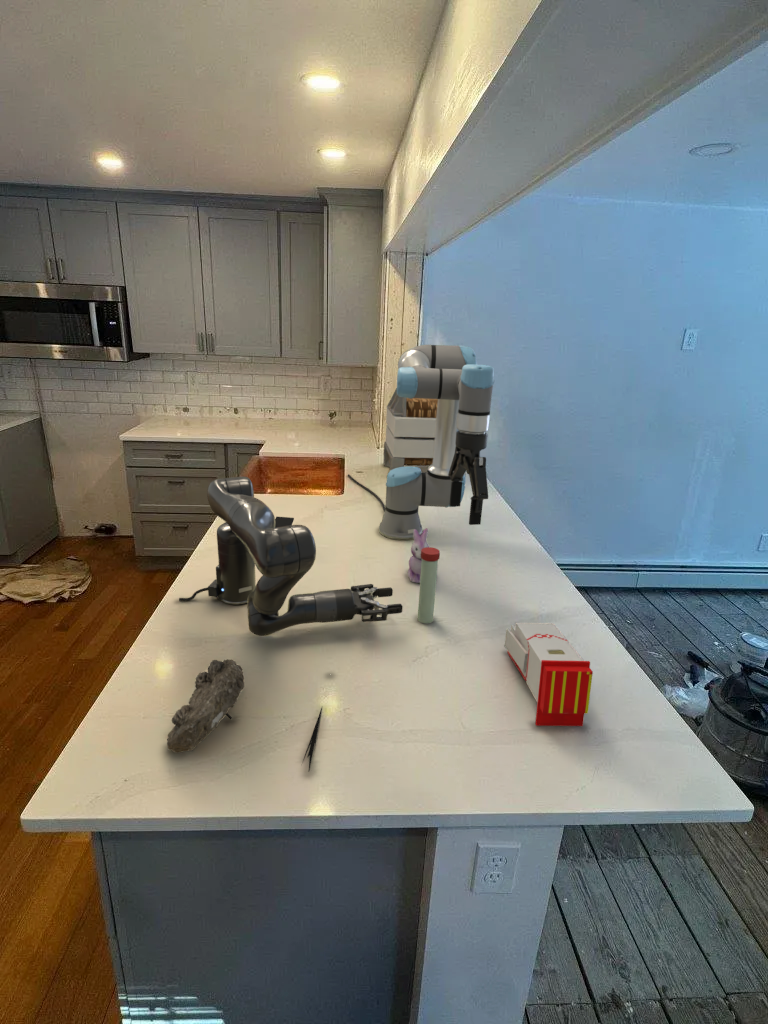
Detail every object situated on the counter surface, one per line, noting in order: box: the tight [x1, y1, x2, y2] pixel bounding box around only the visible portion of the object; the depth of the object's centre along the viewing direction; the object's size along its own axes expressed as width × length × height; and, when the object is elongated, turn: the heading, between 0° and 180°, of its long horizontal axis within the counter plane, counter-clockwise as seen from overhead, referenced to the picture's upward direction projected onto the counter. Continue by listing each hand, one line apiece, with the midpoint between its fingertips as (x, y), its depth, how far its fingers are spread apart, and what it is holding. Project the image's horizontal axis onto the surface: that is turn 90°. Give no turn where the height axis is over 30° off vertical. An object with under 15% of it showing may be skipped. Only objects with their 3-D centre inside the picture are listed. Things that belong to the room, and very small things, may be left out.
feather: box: [301, 673, 332, 771], centre depth 108 cm, size 2×28×2 cm
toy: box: [503, 622, 594, 727], centre depth 121 cm, size 12×13×30 cm
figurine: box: [407, 527, 430, 584], centre depth 166 cm, size 9×10×15 cm
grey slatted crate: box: [383, 387, 438, 472], centre depth 268 cm, size 34×33×41 cm
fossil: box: [166, 658, 245, 754], centre depth 106 cm, size 22×10×15 cm
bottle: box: [416, 559, 439, 624], centre depth 142 cm, size 4×4×19 cm
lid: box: [421, 546, 441, 561], centre depth 139 cm, size 5×5×2 cm
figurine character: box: [275, 515, 295, 528], centre depth 185 cm, size 7×8×15 cm
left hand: (396, 599), depth 141 cm, fingers open, 8 cm apart
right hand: (464, 514), depth 143 cm, fingers open, 13 cm apart
